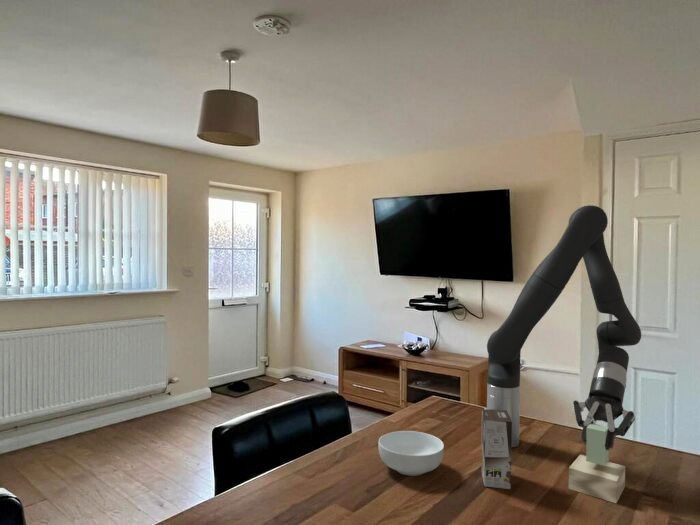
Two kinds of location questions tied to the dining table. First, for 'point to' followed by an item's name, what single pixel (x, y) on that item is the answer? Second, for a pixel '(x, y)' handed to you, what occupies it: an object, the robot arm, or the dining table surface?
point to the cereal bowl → (411, 452)
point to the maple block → (597, 479)
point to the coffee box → (496, 448)
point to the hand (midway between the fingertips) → (596, 445)
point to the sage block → (596, 444)
